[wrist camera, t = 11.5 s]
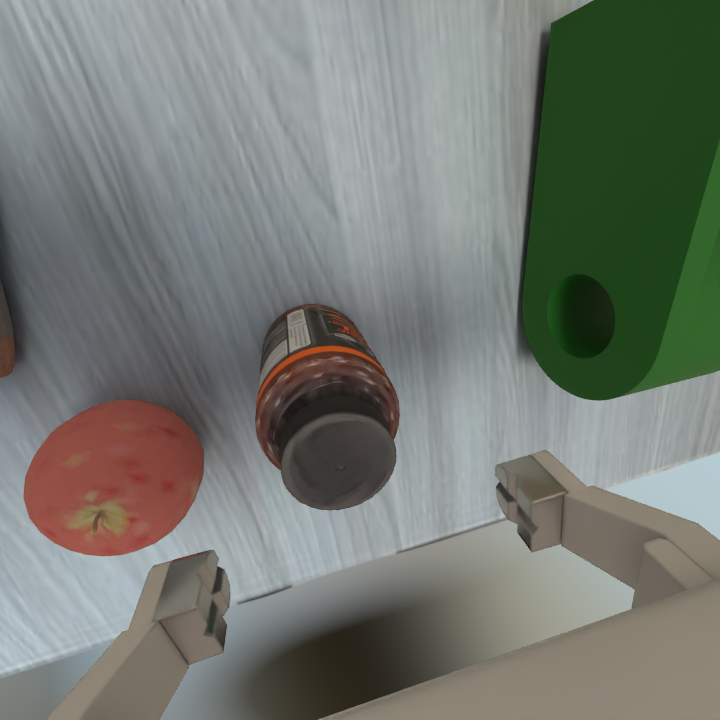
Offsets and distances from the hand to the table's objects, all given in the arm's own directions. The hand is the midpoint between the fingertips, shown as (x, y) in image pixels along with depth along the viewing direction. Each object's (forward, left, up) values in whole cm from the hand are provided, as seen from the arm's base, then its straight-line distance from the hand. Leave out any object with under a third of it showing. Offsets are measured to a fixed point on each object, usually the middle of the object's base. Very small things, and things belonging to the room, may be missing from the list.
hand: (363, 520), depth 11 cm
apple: (-11, -2, -14) cm, 18 cm away
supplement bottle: (0, 0, -14) cm, 14 cm away
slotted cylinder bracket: (+14, +5, -9) cm, 17 cm away
